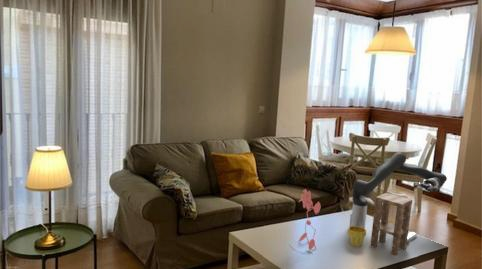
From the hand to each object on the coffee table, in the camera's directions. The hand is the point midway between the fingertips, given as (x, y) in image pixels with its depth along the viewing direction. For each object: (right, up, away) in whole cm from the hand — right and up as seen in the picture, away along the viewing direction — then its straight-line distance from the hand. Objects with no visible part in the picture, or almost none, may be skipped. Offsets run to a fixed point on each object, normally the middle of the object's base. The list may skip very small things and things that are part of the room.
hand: (421, 188), depth 253 cm
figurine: (-81, -32, -22) cm, 90 cm away
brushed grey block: (-11, -33, -3) cm, 34 cm away
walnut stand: (-28, -33, -17) cm, 47 cm away
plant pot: (-47, -32, -15) cm, 59 cm away
